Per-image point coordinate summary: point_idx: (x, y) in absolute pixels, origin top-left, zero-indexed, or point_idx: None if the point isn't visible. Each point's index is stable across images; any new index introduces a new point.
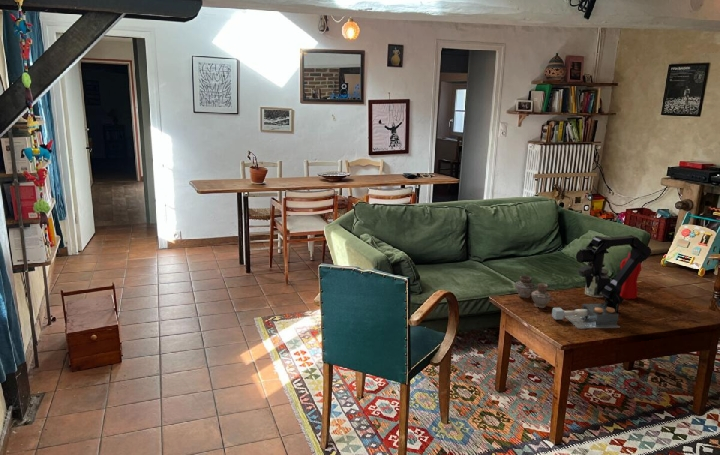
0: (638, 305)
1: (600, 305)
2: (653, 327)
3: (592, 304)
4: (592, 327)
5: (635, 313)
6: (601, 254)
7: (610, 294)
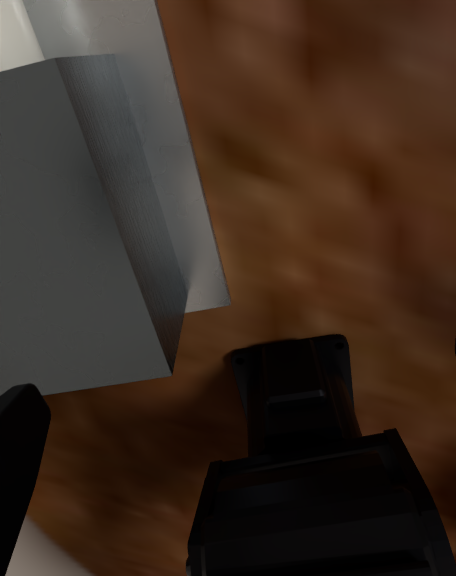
0: None
1: (85, 323)
2: (63, 516)
3: (88, 228)
4: None
5: None
6: None
7: (203, 543)
